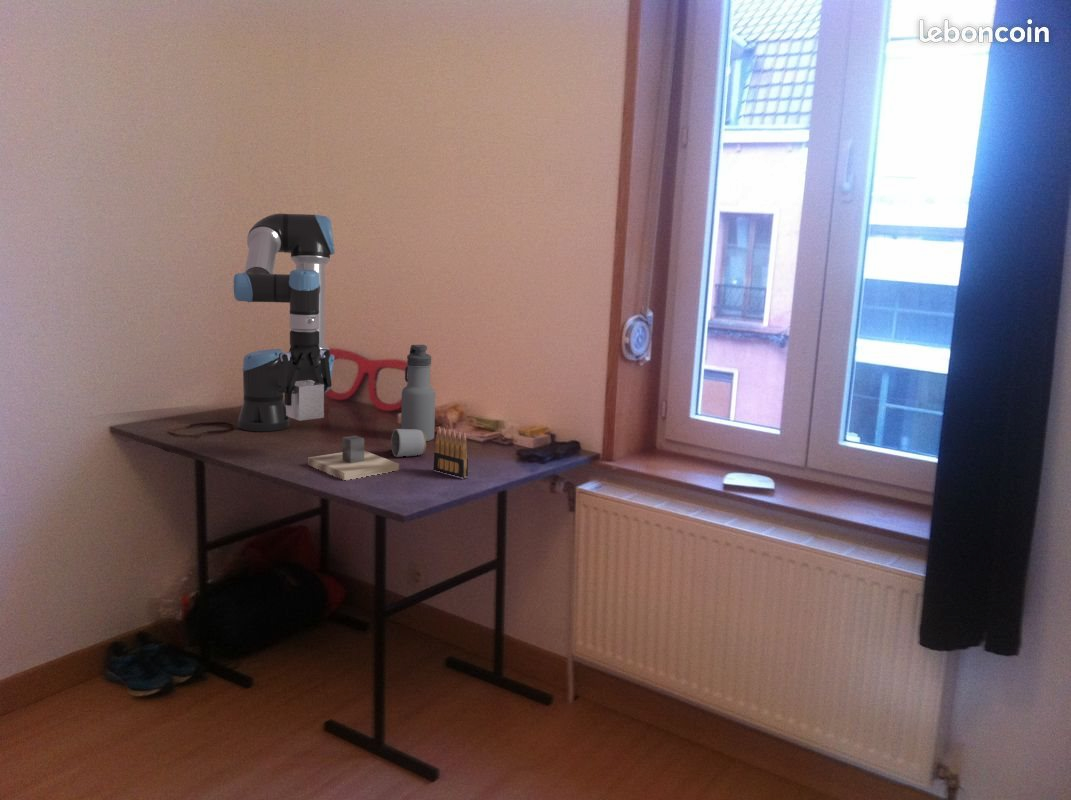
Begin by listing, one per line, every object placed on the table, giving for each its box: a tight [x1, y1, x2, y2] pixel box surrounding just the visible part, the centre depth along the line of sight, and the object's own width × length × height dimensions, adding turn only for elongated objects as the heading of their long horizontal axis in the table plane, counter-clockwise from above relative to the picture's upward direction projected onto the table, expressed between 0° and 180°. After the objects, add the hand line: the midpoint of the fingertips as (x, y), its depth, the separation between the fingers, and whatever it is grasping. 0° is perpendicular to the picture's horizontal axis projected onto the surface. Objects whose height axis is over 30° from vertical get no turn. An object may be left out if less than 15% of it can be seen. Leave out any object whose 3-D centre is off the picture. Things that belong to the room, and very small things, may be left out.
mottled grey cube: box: [285, 380, 325, 421], centre depth 242 cm, size 7×7×9 cm
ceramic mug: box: [390, 428, 427, 458], centre depth 252 cm, size 11×8×8 cm
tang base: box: [307, 435, 400, 481], centre depth 236 cm, size 18×16×8 cm
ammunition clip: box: [432, 426, 469, 478], centre depth 233 cm, size 11×2×12 cm, turn 51°
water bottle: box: [400, 344, 436, 442], centre depth 269 cm, size 10×10×28 cm
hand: (305, 415), depth 243 cm, fingers closed on mottled grey cube, 7 cm apart
